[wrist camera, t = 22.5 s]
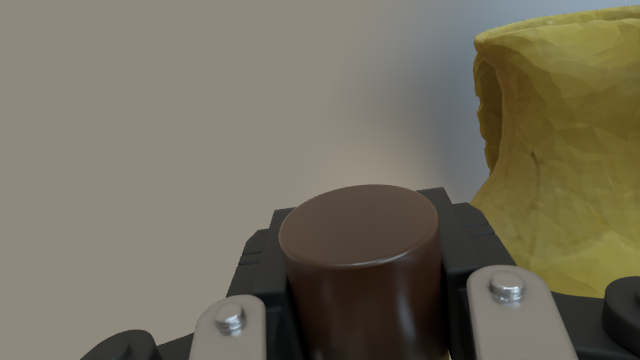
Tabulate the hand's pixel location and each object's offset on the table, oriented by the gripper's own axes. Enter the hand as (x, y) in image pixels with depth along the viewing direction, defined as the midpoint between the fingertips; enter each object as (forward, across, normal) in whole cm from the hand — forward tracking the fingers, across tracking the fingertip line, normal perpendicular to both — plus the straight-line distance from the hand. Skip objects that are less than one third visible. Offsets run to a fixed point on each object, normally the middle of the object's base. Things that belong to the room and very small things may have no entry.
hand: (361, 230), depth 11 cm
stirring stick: (-3, 0, +20) cm, 20 cm away
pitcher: (+18, -16, +23) cm, 33 cm away
